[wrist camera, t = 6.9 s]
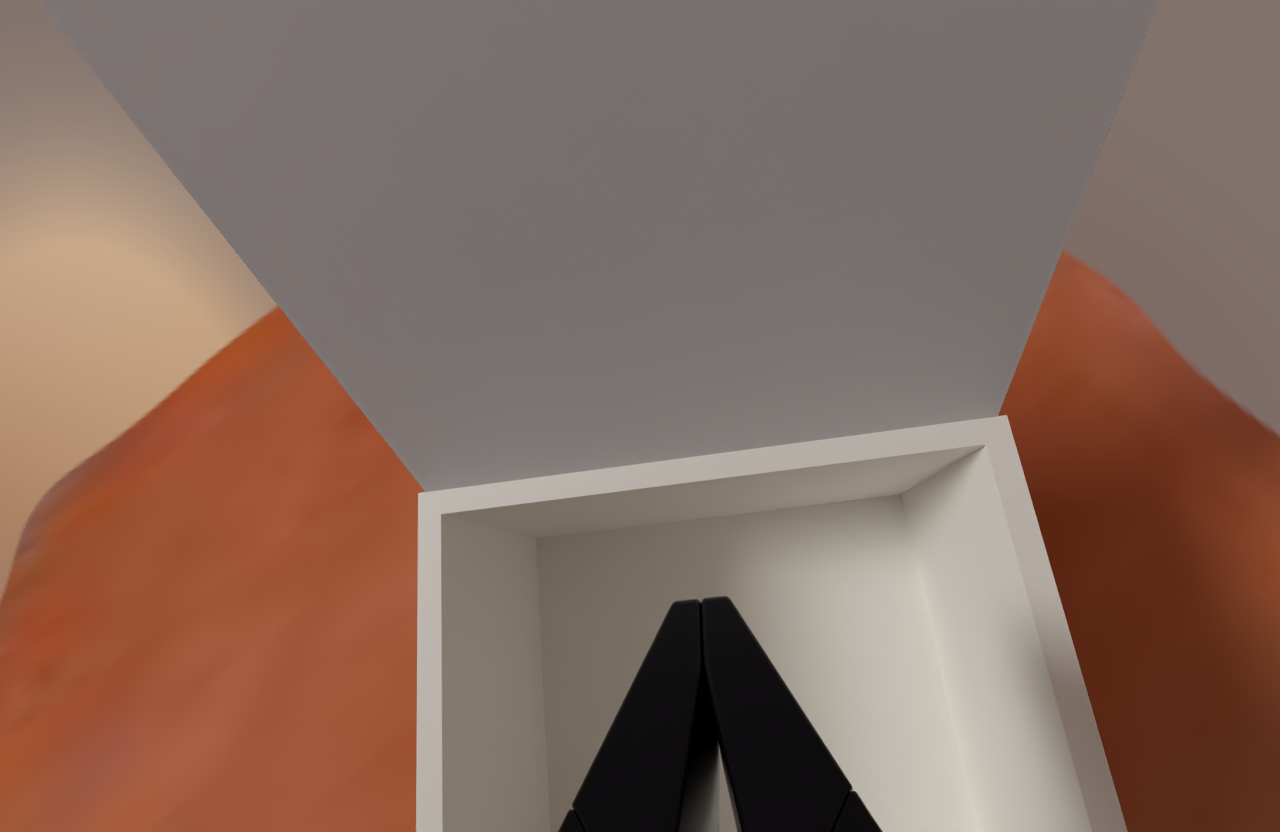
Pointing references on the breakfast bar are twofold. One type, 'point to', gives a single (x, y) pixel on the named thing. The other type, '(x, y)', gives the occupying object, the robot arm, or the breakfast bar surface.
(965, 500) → the carton
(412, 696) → the breakfast bar surface
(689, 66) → the carton flap
